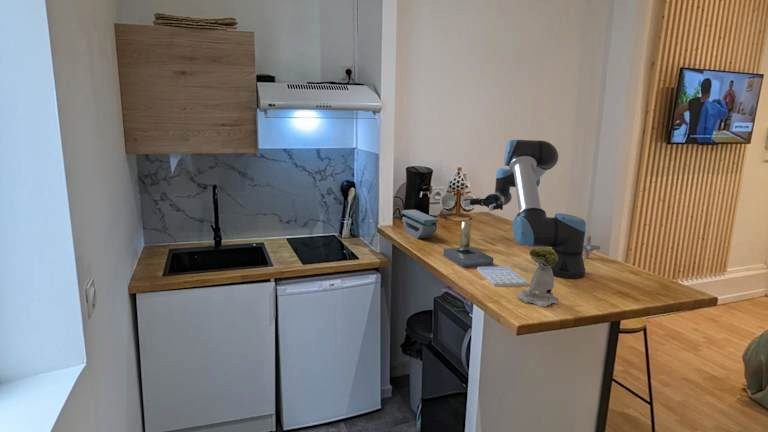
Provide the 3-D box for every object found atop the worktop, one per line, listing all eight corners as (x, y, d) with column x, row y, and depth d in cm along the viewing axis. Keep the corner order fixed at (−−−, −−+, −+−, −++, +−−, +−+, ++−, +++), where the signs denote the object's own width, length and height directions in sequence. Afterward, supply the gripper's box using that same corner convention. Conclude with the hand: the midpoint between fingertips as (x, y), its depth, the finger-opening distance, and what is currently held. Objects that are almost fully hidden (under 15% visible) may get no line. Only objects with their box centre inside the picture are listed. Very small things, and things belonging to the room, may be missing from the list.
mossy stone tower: (522, 290, 172) (527, 240, 168) (560, 298, 166) (566, 246, 162) (514, 301, 162) (519, 248, 158) (554, 309, 155) (560, 254, 152)
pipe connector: (594, 255, 219) (597, 234, 217) (601, 261, 209) (604, 239, 207) (571, 254, 220) (574, 232, 218) (578, 260, 210) (580, 238, 208)
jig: (493, 265, 200) (493, 258, 200) (462, 267, 196) (463, 260, 195) (471, 253, 217) (472, 246, 216) (443, 255, 212) (443, 248, 212)
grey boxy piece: (401, 230, 256) (401, 210, 254) (414, 229, 259) (415, 209, 257) (423, 242, 233) (424, 220, 231) (437, 240, 236) (438, 219, 234)
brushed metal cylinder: (471, 247, 225) (473, 222, 223) (462, 248, 224) (464, 223, 221) (466, 245, 229) (468, 220, 227) (458, 246, 228) (460, 221, 226)
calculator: (493, 287, 175) (494, 282, 175) (476, 270, 195) (476, 265, 194) (528, 287, 177) (528, 282, 177) (507, 269, 196) (507, 265, 196)
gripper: (517, 211, 242) (500, 218, 225) (471, 204, 256) (452, 210, 239) (518, 196, 240) (501, 202, 223) (472, 190, 254) (453, 195, 237)
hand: (476, 206), depth 231 cm, fingers open, 13 cm apart
